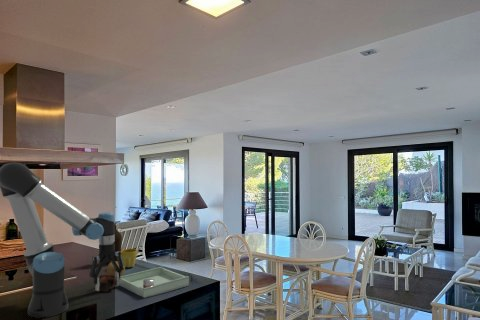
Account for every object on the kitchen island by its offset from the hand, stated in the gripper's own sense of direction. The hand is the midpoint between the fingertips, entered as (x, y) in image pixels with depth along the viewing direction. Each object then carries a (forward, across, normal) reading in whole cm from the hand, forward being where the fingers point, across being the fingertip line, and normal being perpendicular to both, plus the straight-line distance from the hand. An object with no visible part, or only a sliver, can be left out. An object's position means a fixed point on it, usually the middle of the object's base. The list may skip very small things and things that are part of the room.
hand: (107, 287), depth 170 cm
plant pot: (+2, +28, +33) cm, 44 cm away
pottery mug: (+2, 0, 0) cm, 3 cm away
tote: (+2, +20, -11) cm, 23 cm away
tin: (+1, +12, -20) cm, 23 cm away
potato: (+2, +13, +18) cm, 22 cm away
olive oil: (+2, +26, +51) cm, 58 cm away
